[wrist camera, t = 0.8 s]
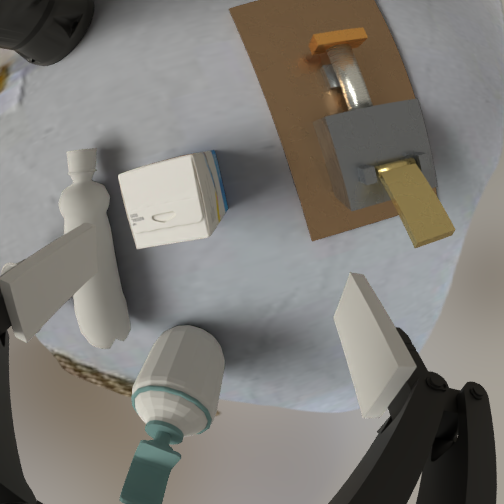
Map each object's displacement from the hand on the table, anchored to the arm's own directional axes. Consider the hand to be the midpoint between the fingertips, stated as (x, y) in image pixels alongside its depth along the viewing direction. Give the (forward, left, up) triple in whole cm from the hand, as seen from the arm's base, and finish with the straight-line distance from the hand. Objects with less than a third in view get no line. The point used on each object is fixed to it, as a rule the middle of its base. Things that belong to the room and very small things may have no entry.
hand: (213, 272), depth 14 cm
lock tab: (+4, +16, -12) cm, 20 cm away
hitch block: (-8, +16, -25) cm, 31 cm away
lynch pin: (-8, +16, -22) cm, 28 cm away
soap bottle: (+22, -18, -25) cm, 38 cm away
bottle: (0, -24, -26) cm, 35 cm away
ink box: (-3, -7, -25) cm, 27 cm away
